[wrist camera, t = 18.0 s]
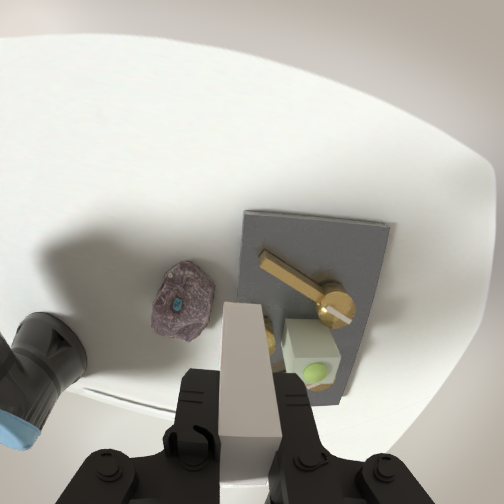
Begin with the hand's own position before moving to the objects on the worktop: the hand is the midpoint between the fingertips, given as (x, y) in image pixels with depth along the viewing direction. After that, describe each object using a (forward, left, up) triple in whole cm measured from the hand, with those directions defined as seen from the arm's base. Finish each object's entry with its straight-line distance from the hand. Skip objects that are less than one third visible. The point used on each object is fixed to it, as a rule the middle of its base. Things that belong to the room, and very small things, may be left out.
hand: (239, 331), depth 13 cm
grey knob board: (+11, -19, -29) cm, 36 cm away
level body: (+11, -19, -27) cm, 35 cm away
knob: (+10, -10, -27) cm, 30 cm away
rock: (-7, -15, -30) cm, 34 cm away
